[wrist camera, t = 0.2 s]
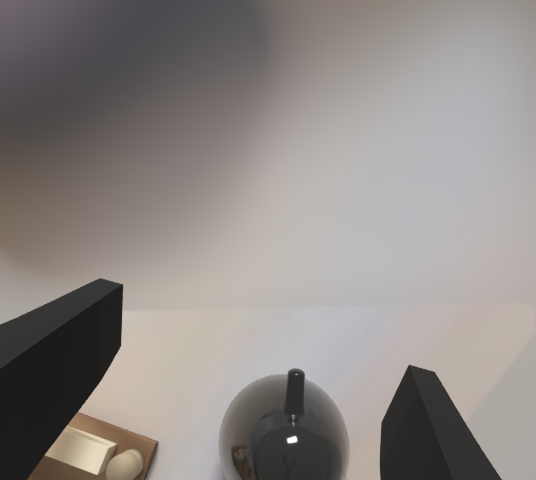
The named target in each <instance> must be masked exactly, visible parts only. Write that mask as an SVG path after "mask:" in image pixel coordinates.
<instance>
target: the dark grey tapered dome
mask: <svg viewBox="0 0 536 480" xmlns="http://www.w3.org/2000/svg"><path fill="white" fill-rule="evenodd" d="M219 456H220V462H221V466H222V469H223V472H224V475H225V477H226V479H227V480H345V478H346V474H347V470H348V465H349V456H350V447H349V437H348V432H347V428H346V425H345V422H344V420H343V417H342V415H341V413H340V411H339V409H338V407H337V406H336V404H335V403H334V401H333V400H332V399H331V398H330V396H329V395H328V394H327V393H326V392H325V391H324V390H323V389H321V388H320V387H319V386H317V385H316V384H314V383H313V382H311V381H309V380H307V379H305V373H304V372H303V371H302V370H301V369H296V368H295V369H291V370H289V371H288V375H287V374H277V375H270V376H266V377H263V378H260V379H258V380H256V381H254V382H252V383H251V384H249V385H248V386H246V387H245V388H244V389H243V390H242V391H240V392H239V393H238V395H237V396H236V397H235V398H234V399H233V401H232V402H231V404H230V405H229V407H228V409H227V411H226V413H225V415H224V418H223V420H222V424H221V428H220V434H219Z"/></svg>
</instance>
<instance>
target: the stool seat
mask: <svg viewBox="0 0 536 480" xmlns="http://www.w3.org/2000/svg"><path fill="white" fill-rule="evenodd" d="M68 426H71V427H73V428H76V429H79V430H81V431H84V432H87V433H89V434H92V435H95V436H98V437H100V438H103V439H106V440H108V441H111V442H114V443H116V444H117V447H116V449H115V452H114V454H113V457H112V459H111V460H110V462H109V463H108V465H107V468H106V470H105V471H103V472H102V473H100V474H98V475H96V474H93V473H90V472H88V471H85V470H83V469H80V468H77V467H75V466H72V465H69V464H67V463H64V462H61V461H59V460H56V459H53V458H51V457H48V456H45V455H44V457H43V458H42V459H41V461H40V462H39V464H38V465H37V466H36V468H35V469H34V471H33V472H32V474H31V475H30V476H29V478H28V479H27V480H144V479H145V476H146V473H147V471H148V468H149V465H150V463H151V460H152V457H153V455H154V452H155V449H156V447H157V444H158V441H155V440H152V439H150V438H147V437H144V436H141V435H139V434H136V433H133V432H131V431H128V430H125V429H122V428H120V427H117V426H114V425H111V424H109V423H106V422H103V421H101V420H98V419H95V418H92V417H90V416H87V415H84V414H82V413H79V412H77V413H76V415H75V416H74V417H73V419H72V420H71V421H70V423H69V424H68Z"/></svg>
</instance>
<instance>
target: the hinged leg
mask: <svg viewBox="0 0 536 480" xmlns="http://www.w3.org/2000/svg"><path fill="white" fill-rule="evenodd" d="M116 447H117V444H116V443H114V442H111V441H108V440H106V439H103V438H100V437H98V436H95V435H92V434H89V433H87V432H84V431H81V430H79V429H76V428H73V427H71V426H68V425H67V426H66V428H65V429H64V430H63V432H62V433H61V434H60V436H59V437H58V438H57V440H56V441H55V442H54V444H53V445H52V446H51V448H50V449H49V450H48V451H47V453H46V454H45V456H48V457H51V458H53V459H56V460H59V461H61V462H64V463H67V464H69V465H72V466H75V467H77V468H80V469H83V470H85V471H88V472H90V473H93V474H96V475H98V474H100V473H102V472H103V471H105V470H106V468H107V465H108V463H109V462H110V460H111V459H112V457H113V454H114V452H115V449H116Z"/></svg>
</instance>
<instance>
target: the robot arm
mask: <svg viewBox="0 0 536 480" xmlns="http://www.w3.org/2000/svg"><path fill="white" fill-rule="evenodd" d="M122 299H123V285H122V284H119V283H115V282H111V281H108V280H105V279H101V278H100V279H98V280H95V281H93V282H91V283H89V284H87V285H85V286H83V287H80V288H78V289H76V290H74V291H72V292H70V293H68V294H66V295H64V296H62V297H60V298H58V299H56V300H54V301H51V302H49V303H47V304H45V305H43V306H41V307H39V308H37V309H35V310H32V311H30V312H28V313H26V314H24V315H22V316H20V317H18V318H15V319H13V320H10V321H8V322H6V323H3V324H1V325H0V480H27V479H28V478H29V476H30V475H31V474H32V472H33V471H34V469H35V468H36V466H37V465H38V464H39V462H40V461H41V459H42V458H43V457H44V455H45V454H46V453H47V451H48V450H49V449H50V448H51V446H52V445H53V444H54V442H55V441H56V440H57V438H58V437H59V436H60V434H61V433H62V432H63V430H64V429H65V428H66V426H67V425H68V424H69V423H70V421H71V420H72V419H73V417H74V416H75V415H76V413H77V412H78V411H79V409H80V408H81V407H82V405H83V404H84V403H85V401H86V400H87V399H88V397H89V396H90V395H91V393H92V392H93V391H94V389H95V388H96V387H97V385H98V384H99V383H100V381H101V380H102V378H103V376H104V375H105V373H106V371H107V370H108V368H109V366H110V365H111V363H112V361H113V359H114V357H115V356H116V354H117V352H118V350H119V349H120V347H121V331H122V301H123V300H122ZM380 476H381V480H502V479H501V478H500V476H499V475H498V473H497V472H496V470H495V469H494V467H493V466H492V464H491V463H490V461H489V460H488V458H487V457H486V455H485V454H484V452H483V451H482V449H481V448H480V446H479V444H478V443H477V441H476V440H475V438H474V437H473V435H472V433H471V432H470V430H469V428H468V427H467V425H466V423H465V422H464V420H463V418H462V417H461V415H460V413H459V412H458V410H457V409H456V407H455V405H454V403H453V402H452V400H451V398H450V397H449V395H448V393H447V392H446V390H445V388H444V387H443V385H442V383H441V382H440V380H439V378H438V377H437V375H436V373H435V372H433V371H429V370H426V369H422V368H418V367H415V366H411V365H409V366H408V368H407V370H406V372H405V374H404V376H403V378H402V380H401V383H400V385H399V387H398V389H397V391H396V393H395V395H394V397H393V399H392V402H391V404H390V406H389V408H388V410H387V412H386V414H385V416H384V418H383V421H382V426H381V444H380Z"/></svg>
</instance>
